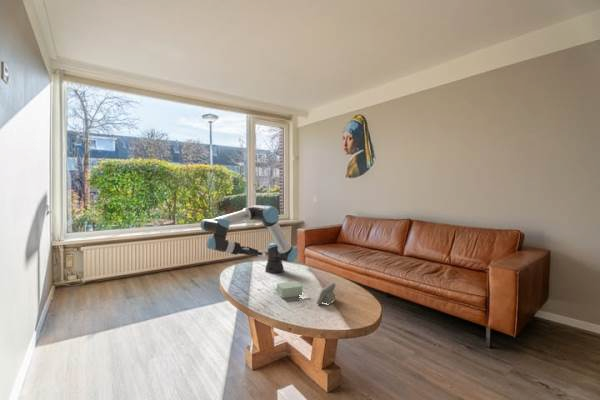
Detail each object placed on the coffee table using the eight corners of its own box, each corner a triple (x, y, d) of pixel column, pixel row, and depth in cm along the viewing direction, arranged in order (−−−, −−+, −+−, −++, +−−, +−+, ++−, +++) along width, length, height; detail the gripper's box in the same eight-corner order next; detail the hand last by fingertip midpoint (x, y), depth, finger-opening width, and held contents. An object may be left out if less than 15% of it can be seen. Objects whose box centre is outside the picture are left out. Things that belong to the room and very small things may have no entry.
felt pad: (296, 286, 202) (296, 285, 202) (310, 298, 182) (310, 297, 182) (275, 289, 196) (275, 288, 196) (287, 302, 176) (287, 301, 176)
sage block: (276, 292, 190) (295, 289, 195) (282, 298, 181) (302, 295, 186) (277, 283, 189) (296, 281, 195) (282, 288, 180) (302, 286, 186)
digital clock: (328, 296, 187) (329, 280, 186) (340, 300, 180) (340, 284, 180) (312, 303, 175) (313, 286, 174) (323, 308, 169) (324, 290, 168)
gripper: (227, 255, 180) (260, 262, 192) (235, 251, 171) (269, 259, 182) (229, 243, 184) (261, 251, 195) (237, 239, 174) (271, 248, 185)
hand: (265, 255), depth 189 cm, fingers closed
